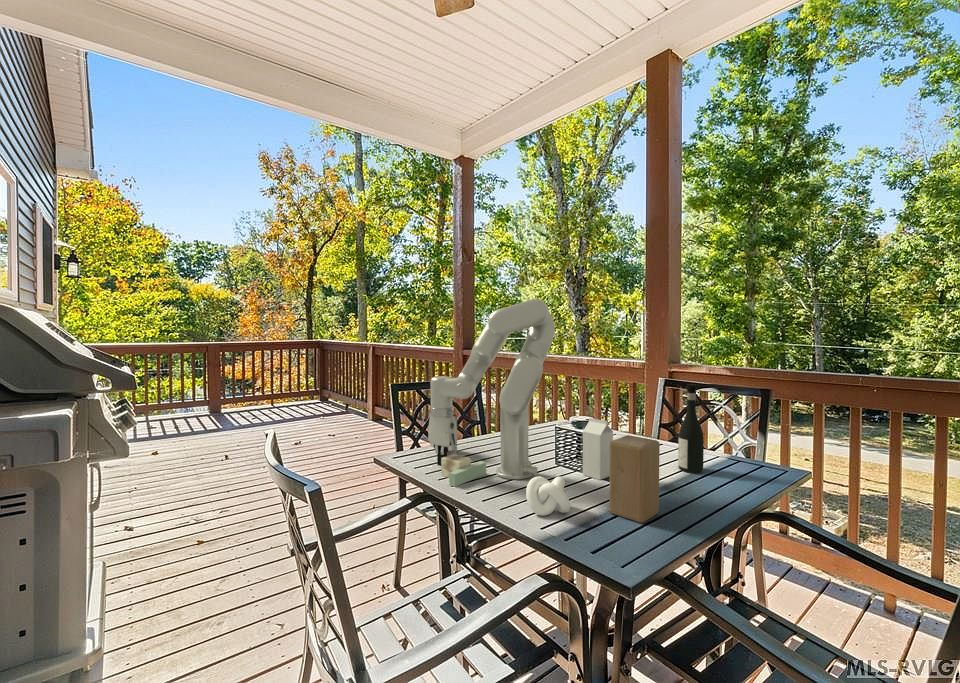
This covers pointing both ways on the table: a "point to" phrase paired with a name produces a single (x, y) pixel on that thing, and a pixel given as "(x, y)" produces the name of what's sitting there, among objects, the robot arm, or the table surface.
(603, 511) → the table surface
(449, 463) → the birch block
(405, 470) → the table surface
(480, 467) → the board
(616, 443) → the wooden block
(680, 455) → the wine bottle
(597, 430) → the milk carton
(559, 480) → the white knot
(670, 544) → the table surface
